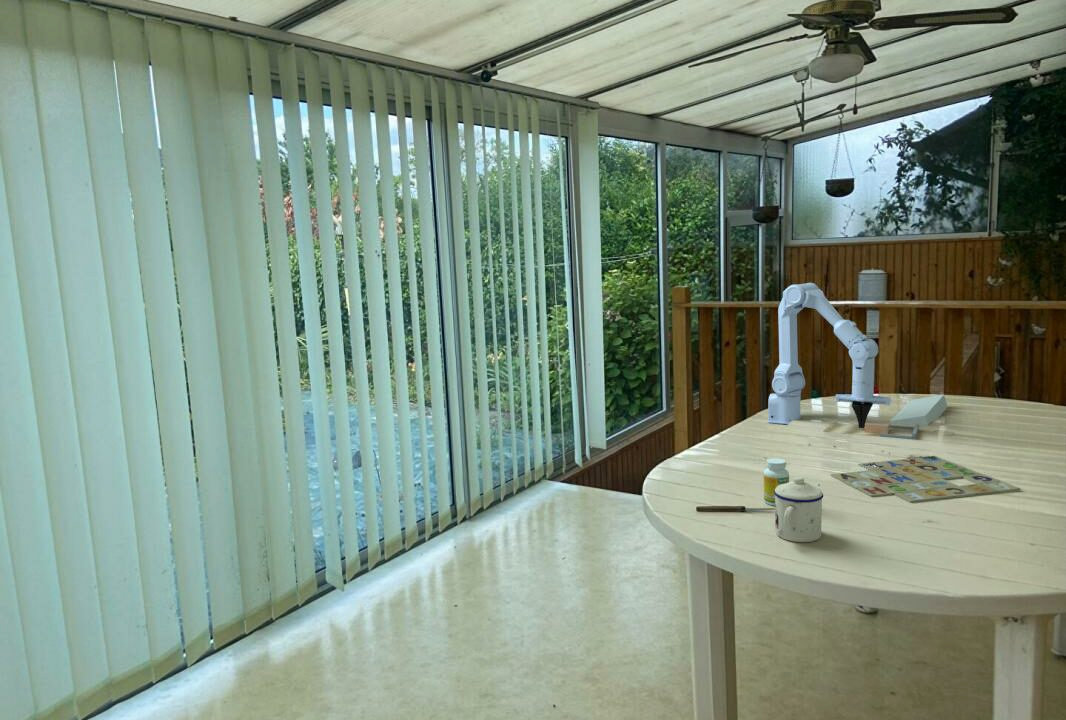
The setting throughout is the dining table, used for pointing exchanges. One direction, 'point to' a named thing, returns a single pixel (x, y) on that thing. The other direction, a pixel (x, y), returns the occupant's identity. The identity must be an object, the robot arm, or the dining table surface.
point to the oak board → (847, 429)
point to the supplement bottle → (774, 478)
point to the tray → (913, 437)
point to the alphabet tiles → (921, 480)
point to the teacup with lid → (798, 511)
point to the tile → (877, 426)
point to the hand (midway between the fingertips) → (861, 427)
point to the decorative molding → (921, 410)
